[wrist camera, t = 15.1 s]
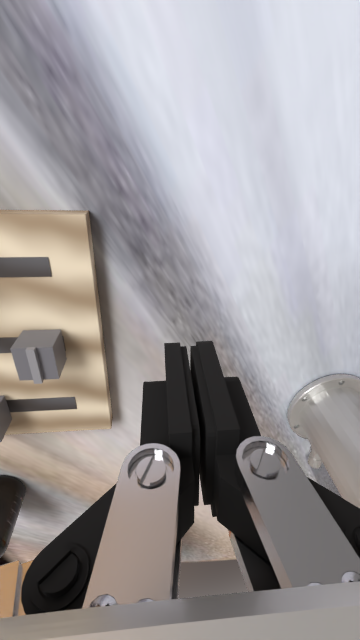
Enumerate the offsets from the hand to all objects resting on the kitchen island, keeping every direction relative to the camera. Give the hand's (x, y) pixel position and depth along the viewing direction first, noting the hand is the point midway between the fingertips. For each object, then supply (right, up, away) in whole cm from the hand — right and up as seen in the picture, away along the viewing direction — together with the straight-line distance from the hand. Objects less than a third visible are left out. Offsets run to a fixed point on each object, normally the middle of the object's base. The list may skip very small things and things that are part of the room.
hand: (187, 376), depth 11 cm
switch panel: (-19, 0, +25) cm, 32 cm away
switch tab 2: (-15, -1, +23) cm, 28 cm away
